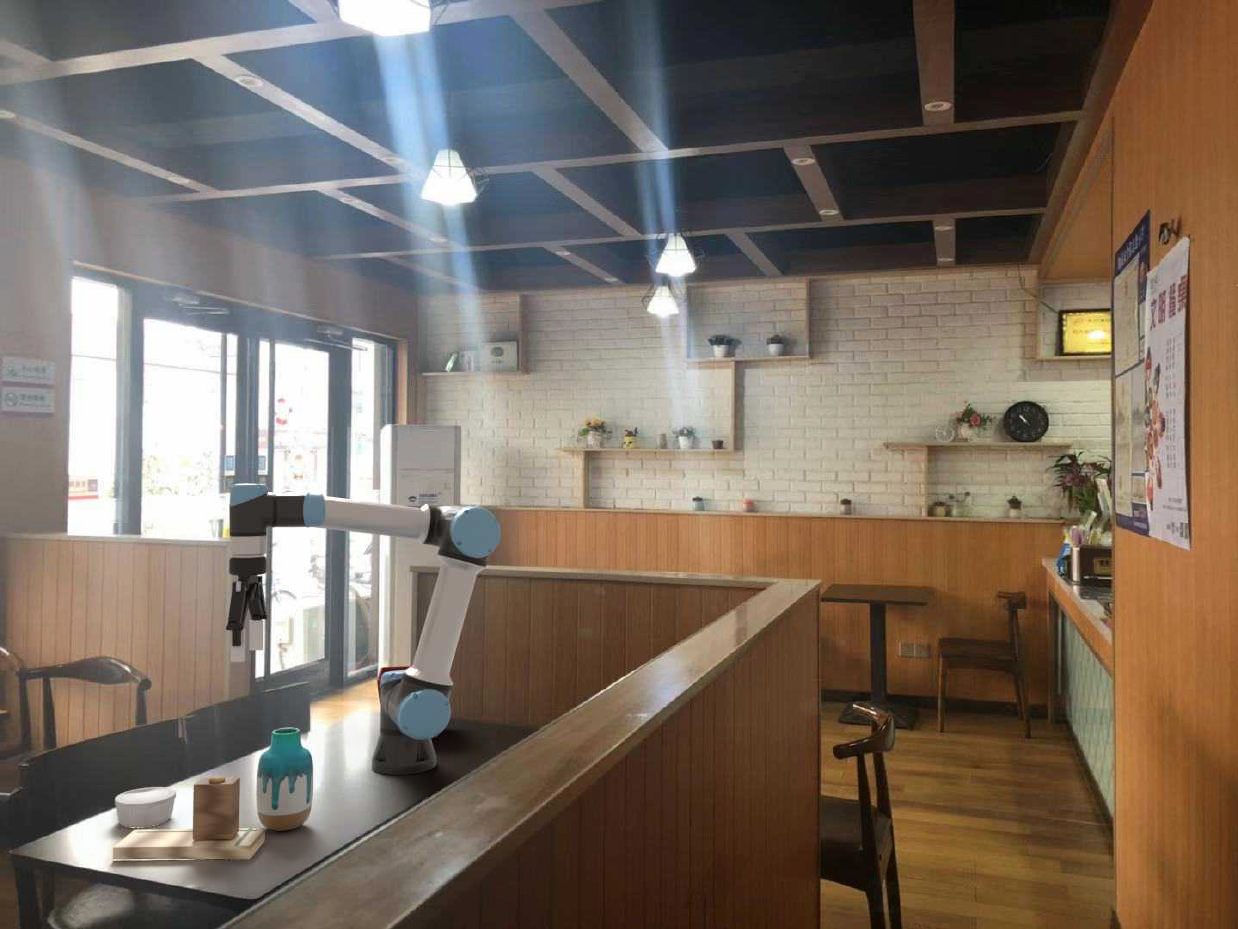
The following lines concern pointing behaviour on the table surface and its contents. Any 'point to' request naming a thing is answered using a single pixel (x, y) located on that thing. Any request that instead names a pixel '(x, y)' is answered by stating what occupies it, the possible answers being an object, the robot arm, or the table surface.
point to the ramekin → (145, 806)
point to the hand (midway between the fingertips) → (247, 656)
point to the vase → (284, 782)
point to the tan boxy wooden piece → (216, 808)
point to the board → (188, 845)
